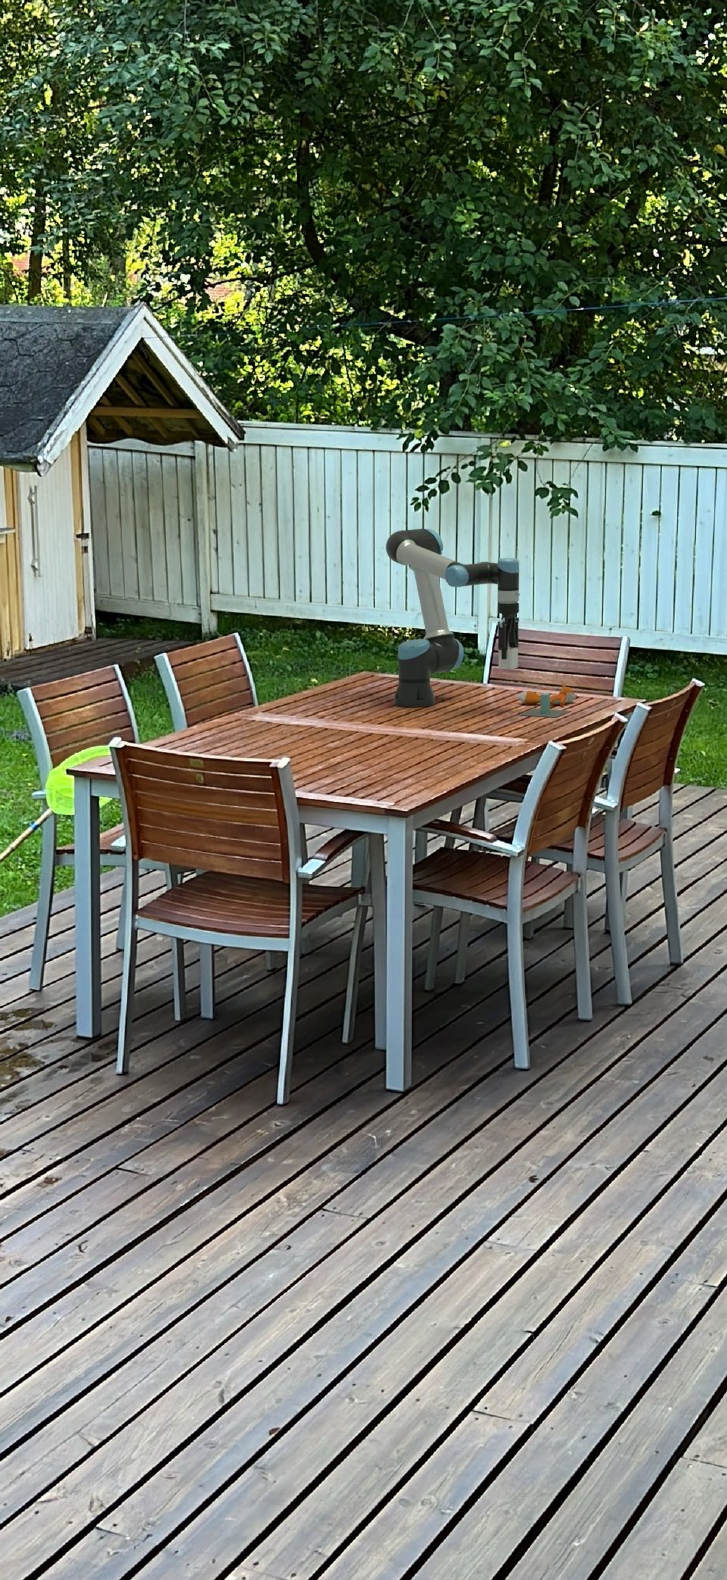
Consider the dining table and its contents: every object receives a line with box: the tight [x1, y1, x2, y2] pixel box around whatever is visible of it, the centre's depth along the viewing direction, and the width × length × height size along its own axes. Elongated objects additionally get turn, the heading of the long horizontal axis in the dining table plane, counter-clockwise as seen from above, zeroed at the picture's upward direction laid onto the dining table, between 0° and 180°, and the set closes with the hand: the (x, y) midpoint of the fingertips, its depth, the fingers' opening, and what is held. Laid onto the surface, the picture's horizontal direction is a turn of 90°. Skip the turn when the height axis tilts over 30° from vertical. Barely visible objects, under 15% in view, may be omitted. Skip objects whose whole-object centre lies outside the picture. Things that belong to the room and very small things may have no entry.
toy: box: [515, 680, 578, 708], centre depth 658 cm, size 8×22×15 cm
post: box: [539, 692, 551, 713], centre depth 638 cm, size 3×3×7 cm
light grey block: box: [498, 647, 519, 670], centre depth 641 cm, size 5×5×7 cm
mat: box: [518, 708, 572, 719], centre depth 639 cm, size 14×14×1 cm
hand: (508, 666), depth 642 cm, fingers closed on light grey block, 5 cm apart
